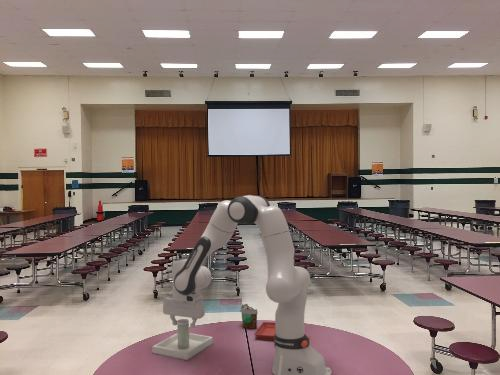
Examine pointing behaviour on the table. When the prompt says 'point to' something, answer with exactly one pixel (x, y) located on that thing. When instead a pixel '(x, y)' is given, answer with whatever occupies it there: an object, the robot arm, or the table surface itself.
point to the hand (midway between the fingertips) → (183, 326)
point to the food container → (249, 317)
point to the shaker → (183, 333)
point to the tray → (171, 349)
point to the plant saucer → (266, 331)
